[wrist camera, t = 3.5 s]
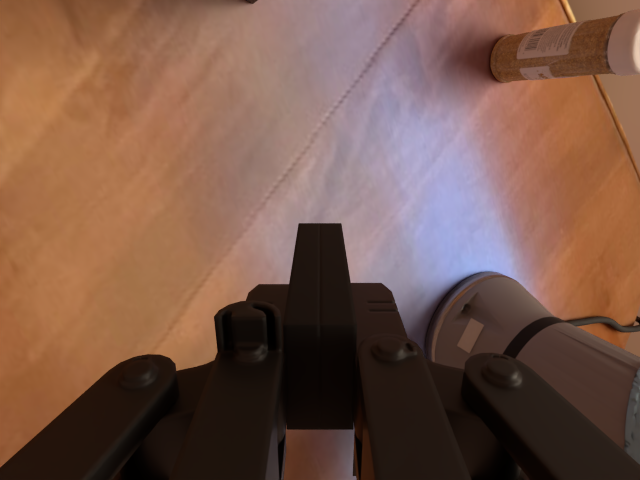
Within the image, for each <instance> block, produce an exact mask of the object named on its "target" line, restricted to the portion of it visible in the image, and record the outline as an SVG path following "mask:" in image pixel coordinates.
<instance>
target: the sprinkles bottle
mask: <svg viewBox="0 0 640 480" xmlns="http://www.w3.org/2000/svg"><path fill="white" fill-rule="evenodd" d="M490 64H491V70H492V73H493V75H494V76H495V78H496V79H497V80H498V81H500V82H504V83H509V82H511V81H520V80H541V79H552V78H566V77H578V76H584V75H598V74H609V73H610V74H617V75H621V76H623V75H637V74H640V9H637V10H632V11H628V12H626V13H623V14H620V15H618V16H613V17H607V18H602V19H596V20H586V21H581V22H575V23H570V24H565V25H560V26H554V27H549V28H544V29H539V30H535V31H532V32H528V33H522V34H518V35H513V34H509V35H506V36H503V37H502V38H501V39H500V40H499V41H498V42H497V43H496V45H495V46H494V49H493V51H492V54H491V63H490Z"/></svg>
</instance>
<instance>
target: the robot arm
mask: <svg viewBox="0 0 640 480" xmlns="http://www.w3.org/2000/svg"><path fill="white" fill-rule="evenodd" d="M214 321H215V330H216V340H217V349H218V353H217V355H216V358H215V360H214V361H212V362H209V363H207V364H204V365H201V366H197V367H193V368H188V369H184V370H179V371H176V365H175V363H174V362H173V361H172V360H171V359H170V358H168V357H165V356H162V355H150V354H147V355H142V356H137V357H133V358H130V359H128V360H126V361H123V362H121V363H119V364H118V365H116V366H115V367H113V368H112V369H110V370H109V371H108V372H107V373H106V374H104V375H103V376H102V377H101V378H100V379H99V380H98V381H97V382H95V383H94V384H93V385H92V386H91V387H90V388H89V389H88V390H87V391H85V392H84V393H83V394H82V395H81V396H80V397H79V398H78V399H76V400H75V401H74V402H73V403H72V404H71V405H70V406H69V407H68V408H66V409H65V410H64V411H63V412H62V413H61V414H60V415H59V416H57V417H56V418H55V419H54V420H53V421H52V422H51V423H50V424H49V425H47V426H46V427H45V428H44V429H43V430H42V431H41V432H40V433H38V434H37V435H36V436H35V437H34V438H33V439H32V440H31V441H29V442H28V443H27V444H26V445H25V446H24V447H23V448H22V449H21V450H19V451H18V452H17V453H16V454H15V455H14V456H13V457H12V458H10V459H9V460H8V461H7V462H6V463H5V464H4V465H3V466H2V467H0V480H283V479H284V468H285V457H286V433H285V431H286V423H287V429H353V423H354V429H355V433H354V459H353V476H356V478H357V480H640V357H638V356H636V355H634V354H632V353H630V352H628V351H626V350H624V349H622V348H619V347H617V346H615V345H613V344H611V343H609V342H607V341H605V340H603V339H601V338H599V337H597V336H595V335H592V334H590V333H588V332H586V331H584V330H582V329H580V328H578V327H576V326H582V325H588V324H593V323H607V324H609V325H611V326H612V327H613V328H614V329H616V330H618V331H620V332H637V331H640V325H637V326H621V325H619V324H618V323H617V322H616V321H614V320H613V319H611V318H608V317H591V318H585V319H578V320H572V321H566V322H565V321H563V320H561V319H559V318H557V317H555V316H554V315H552V314H551V313H550V312H549V311H548V310H547V309H546V308H545V307H544V306H543V305H542V304H541V303H540V302H539V301H538V300H537V299H536V298H535V297H533V296H532V295H531V294H530V293H529V292H528V291H527V290H526V289H525V288H524V287H523V286H522V285H521V284H520V283H519V282H517V281H516V280H514V279H512V278H510V277H507V276H505V275H503V274H500V273H497V272H483V273H479V274H476V275H473V276H471V277H469V278H467V279H465V280H464V281H462V282H461V283H460V284H458V285H457V286H456V287H455V288H454V289H453V290H451V291H450V293H449V294H448V295H447V296H446V297H445V298H444V300H443V301H442V302H441V304H440V305H439V307H438V308H437V310H436V312H435V314H434V316H433V318H432V320H431V322H430V325H429V328H428V332H427V336H426V344H425V353H426V358H425V357H424V355H423V352H422V350H421V349H420V347H419V346H418V345H417V344H416V343H415V342H413V341H412V340H410V339H409V338H408V337H407V334H406V331H405V329H404V326H403V323H402V320H401V317H400V314H399V312H398V309H397V306H396V303H395V300H394V297H393V294H392V292H391V291H390V290H389V289H388V288H387V287H385V286H384V285H383V284H382V283H350V276H349V270H348V263H347V257H346V251H345V244H344V238H343V232H342V225H341V223H299V225H298V232H297V238H296V244H295V251H294V257H293V263H292V270H291V276H290V283H289V284H259V285H257V286H256V287H255V288H254V289H253V290H251V291H250V292H249V293H248V296H247V299H246V301H240V302H237V303H233V304H230V305H228V306H226V307H224V308H222V309H221V310H219V311H218V313H217V314H216V315H215V316H214ZM635 321H636V322H638V323H639V324H640V317H638V316H636V319H635Z"/></svg>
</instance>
